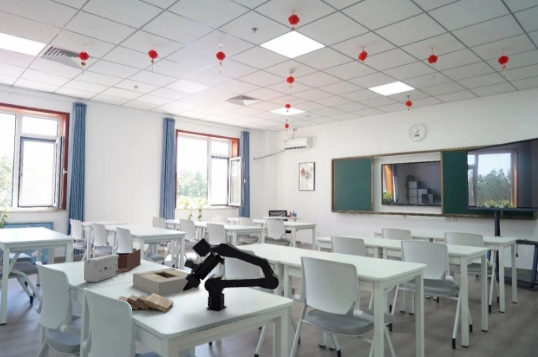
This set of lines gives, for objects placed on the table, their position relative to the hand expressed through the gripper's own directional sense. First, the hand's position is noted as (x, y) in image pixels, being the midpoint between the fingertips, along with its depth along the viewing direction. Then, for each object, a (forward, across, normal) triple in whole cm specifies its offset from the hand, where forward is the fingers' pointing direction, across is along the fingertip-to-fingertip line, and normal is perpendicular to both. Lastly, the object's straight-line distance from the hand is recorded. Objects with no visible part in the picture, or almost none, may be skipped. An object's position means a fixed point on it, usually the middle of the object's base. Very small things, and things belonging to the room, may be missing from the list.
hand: (183, 290), depth 158 cm
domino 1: (+18, 0, -8) cm, 20 cm away
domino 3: (+12, 0, -2) cm, 12 cm away
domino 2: (+15, 0, -5) cm, 16 cm away
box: (+20, -38, -8) cm, 44 cm away
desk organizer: (+50, -91, -39) cm, 111 cm away
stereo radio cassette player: (+50, -57, -40) cm, 86 cm away
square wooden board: (+9, 0, +1) cm, 9 cm away
